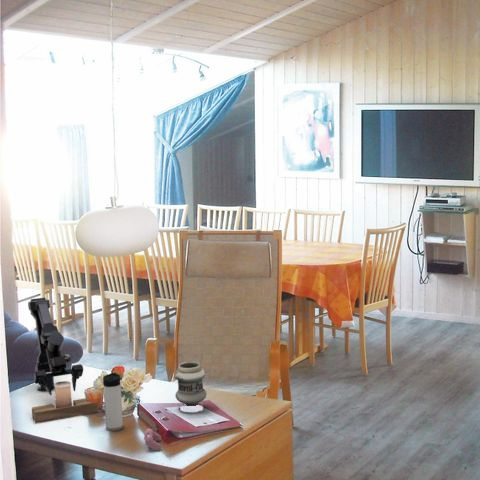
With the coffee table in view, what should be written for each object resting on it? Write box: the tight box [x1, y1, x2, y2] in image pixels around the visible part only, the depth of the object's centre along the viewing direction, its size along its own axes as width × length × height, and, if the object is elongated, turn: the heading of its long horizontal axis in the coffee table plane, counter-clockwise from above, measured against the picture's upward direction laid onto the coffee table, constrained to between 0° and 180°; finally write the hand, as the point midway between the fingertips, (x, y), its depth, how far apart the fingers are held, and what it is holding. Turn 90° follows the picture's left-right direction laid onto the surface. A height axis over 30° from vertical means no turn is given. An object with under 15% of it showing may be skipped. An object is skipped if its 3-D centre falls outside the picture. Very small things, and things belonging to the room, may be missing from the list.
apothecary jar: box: [174, 361, 207, 406], centre depth 314 cm, size 12×12×18 cm
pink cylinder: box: [54, 380, 73, 408], centre depth 314 cm, size 6×6×12 cm
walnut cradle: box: [31, 397, 99, 424], centre depth 314 cm, size 7×24×4 cm, turn 114°
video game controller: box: [143, 428, 162, 452], centre depth 280 cm, size 10×5×7 cm, turn 5°
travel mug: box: [102, 372, 124, 432], centre depth 297 cm, size 6×7×20 cm
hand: (62, 392), depth 315 cm, fingers open, 9 cm apart
